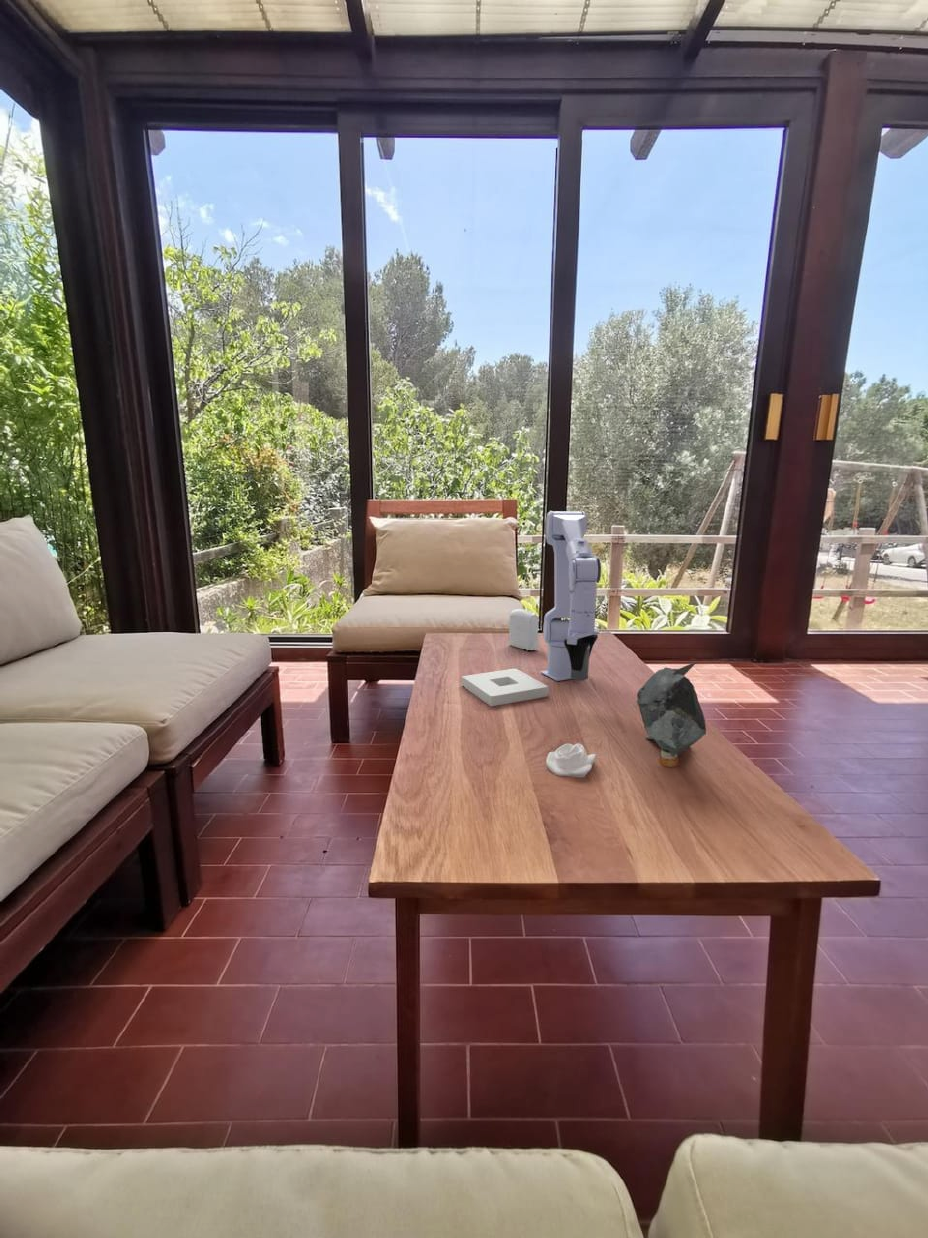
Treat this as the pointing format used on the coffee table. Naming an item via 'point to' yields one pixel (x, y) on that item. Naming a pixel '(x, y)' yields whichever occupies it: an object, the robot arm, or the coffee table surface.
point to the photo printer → (523, 629)
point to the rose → (570, 761)
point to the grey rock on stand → (671, 712)
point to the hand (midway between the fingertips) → (579, 667)
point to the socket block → (504, 687)
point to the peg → (584, 672)
